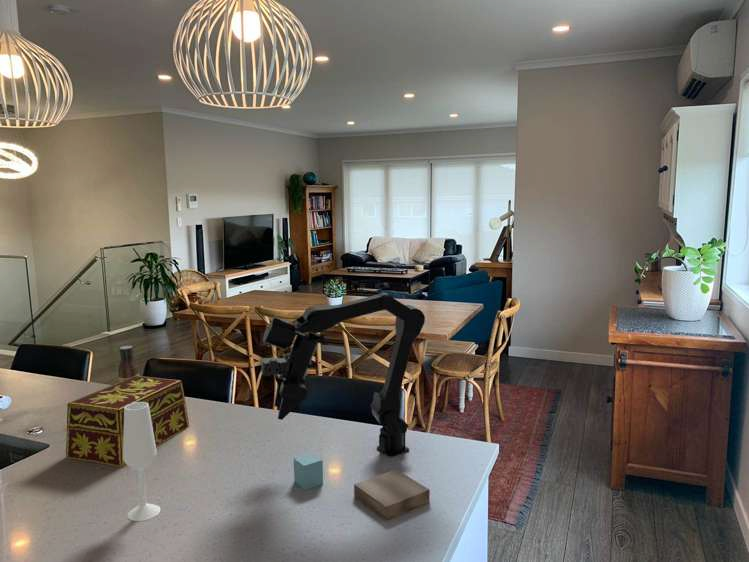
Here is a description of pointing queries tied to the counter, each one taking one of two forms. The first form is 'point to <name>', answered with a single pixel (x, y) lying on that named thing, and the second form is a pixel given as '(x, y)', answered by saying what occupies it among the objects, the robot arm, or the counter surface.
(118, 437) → the decorative box
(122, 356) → the sauce bottle
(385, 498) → the walnut base
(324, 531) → the counter surface
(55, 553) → the counter surface
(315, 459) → the teal block
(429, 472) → the counter surface
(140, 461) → the champagne flute
